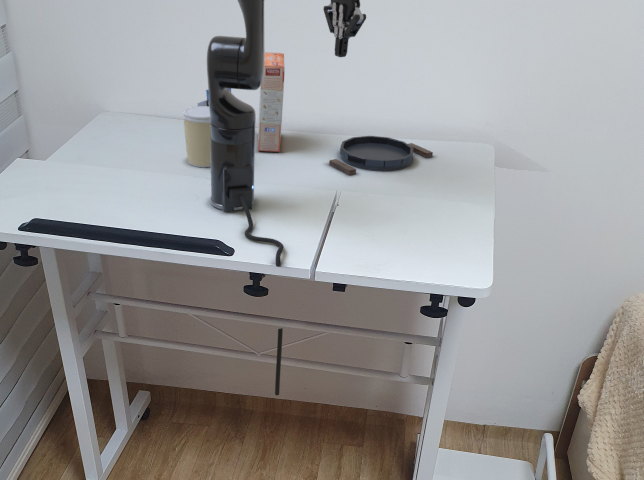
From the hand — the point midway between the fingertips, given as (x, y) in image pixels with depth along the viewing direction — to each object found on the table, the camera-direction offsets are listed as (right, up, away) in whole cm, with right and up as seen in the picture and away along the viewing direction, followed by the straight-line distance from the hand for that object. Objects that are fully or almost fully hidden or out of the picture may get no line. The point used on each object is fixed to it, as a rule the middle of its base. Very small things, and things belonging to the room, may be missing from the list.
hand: (340, 56), depth 161 cm
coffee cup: (-32, -19, +16) cm, 40 cm away
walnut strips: (+12, -17, +20) cm, 29 cm away
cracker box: (-16, -11, +28) cm, 34 cm away
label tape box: (-30, -6, +33) cm, 45 cm away
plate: (+11, -16, +21) cm, 29 cm away
